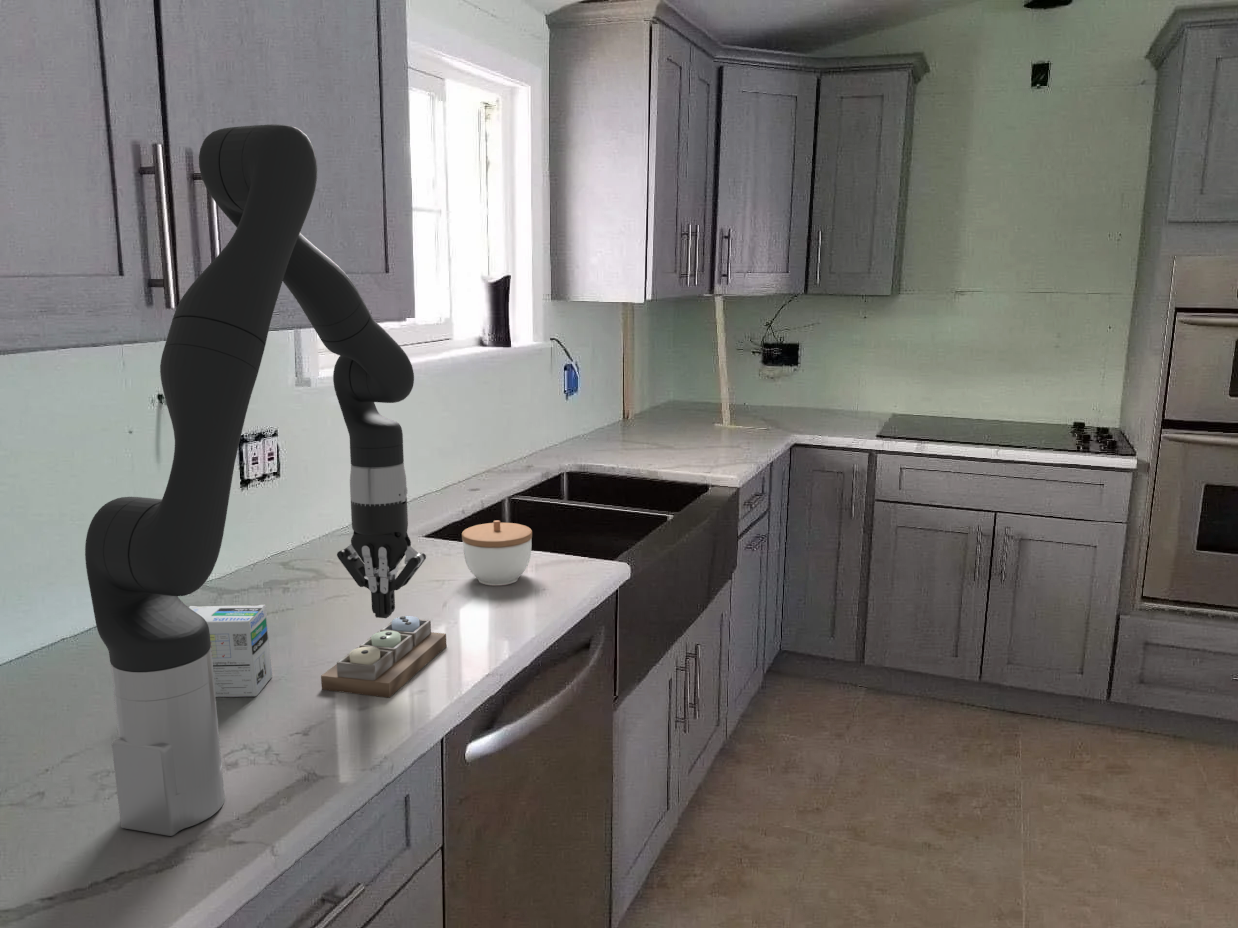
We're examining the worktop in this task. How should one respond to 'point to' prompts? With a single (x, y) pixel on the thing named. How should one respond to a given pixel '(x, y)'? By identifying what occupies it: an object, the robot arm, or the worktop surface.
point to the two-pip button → (386, 639)
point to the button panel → (386, 664)
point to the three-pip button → (405, 623)
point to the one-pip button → (365, 655)
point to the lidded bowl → (497, 551)
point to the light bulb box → (238, 648)
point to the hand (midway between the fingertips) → (384, 616)
